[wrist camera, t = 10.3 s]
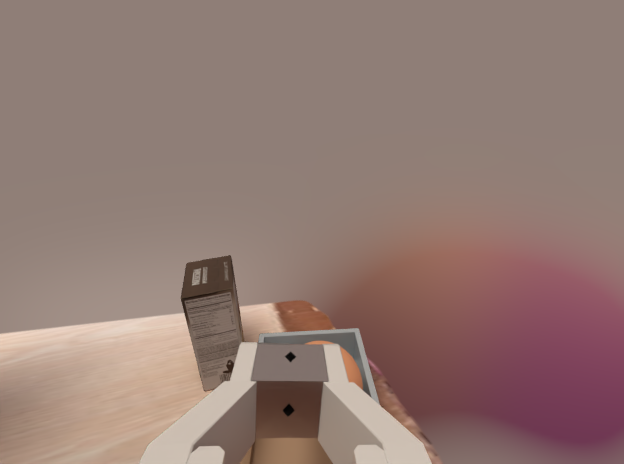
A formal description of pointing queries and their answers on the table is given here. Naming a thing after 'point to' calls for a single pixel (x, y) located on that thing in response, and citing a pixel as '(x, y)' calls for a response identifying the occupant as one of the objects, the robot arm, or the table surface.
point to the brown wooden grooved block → (286, 451)
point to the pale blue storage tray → (343, 337)
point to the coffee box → (212, 318)
